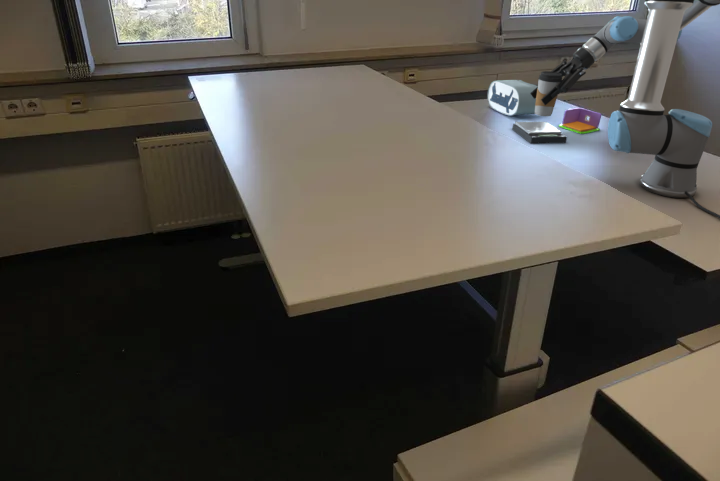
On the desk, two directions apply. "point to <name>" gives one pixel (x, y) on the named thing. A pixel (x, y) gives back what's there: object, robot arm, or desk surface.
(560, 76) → the coffee cup
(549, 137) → the scale
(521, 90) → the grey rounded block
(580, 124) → the toy room diorama
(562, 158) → the desk surface
